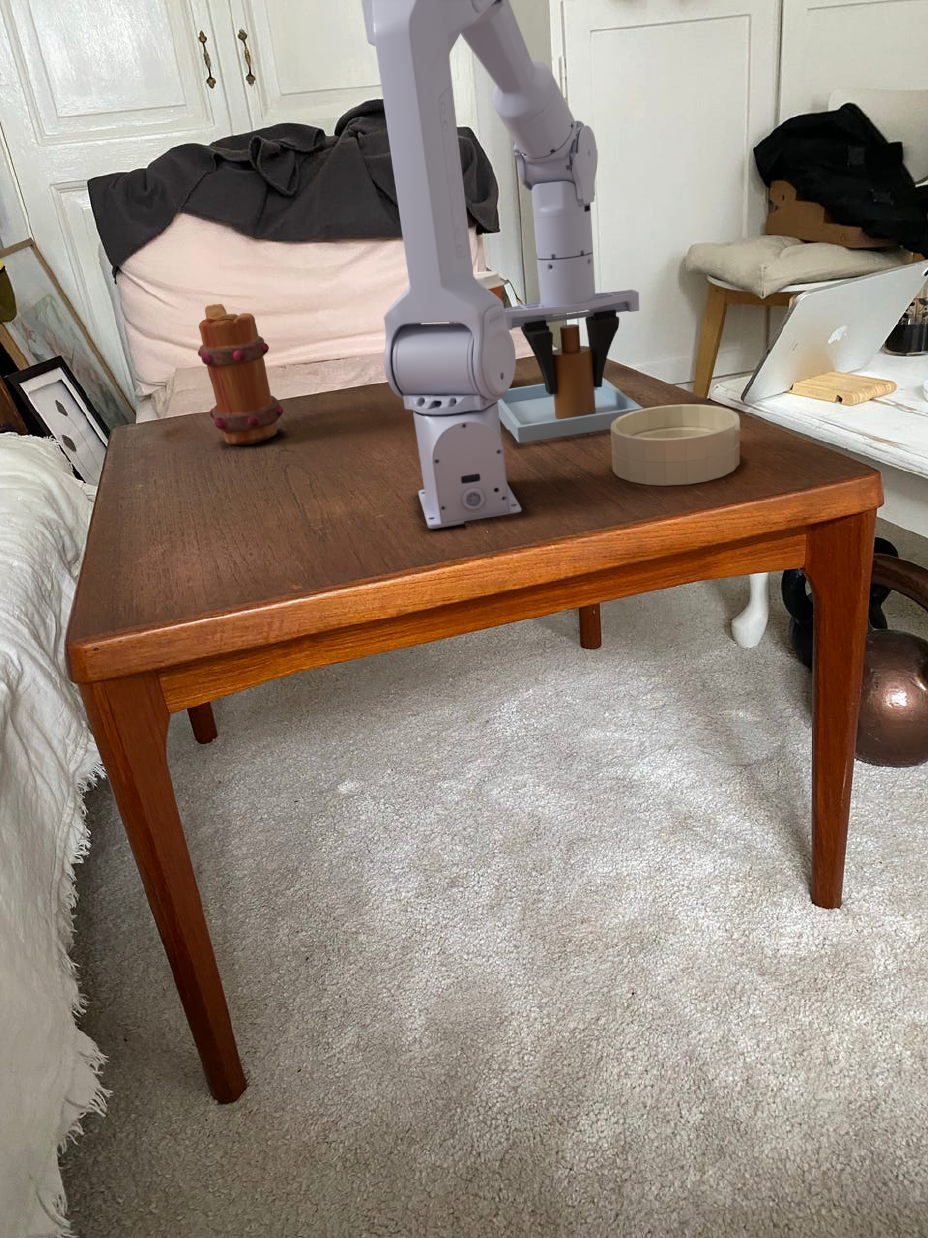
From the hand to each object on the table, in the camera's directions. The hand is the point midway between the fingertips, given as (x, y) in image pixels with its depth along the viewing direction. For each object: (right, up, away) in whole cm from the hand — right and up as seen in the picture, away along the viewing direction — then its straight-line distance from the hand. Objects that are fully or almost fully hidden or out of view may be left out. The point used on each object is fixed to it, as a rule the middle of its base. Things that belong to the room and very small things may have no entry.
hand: (574, 388), depth 102 cm
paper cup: (-9, +5, +20) cm, 22 cm away
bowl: (+7, -11, -17) cm, 22 cm away
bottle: (0, -3, +1) cm, 3 cm away
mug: (-38, -3, +13) cm, 40 cm away
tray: (-1, -2, +3) cm, 4 cm away
